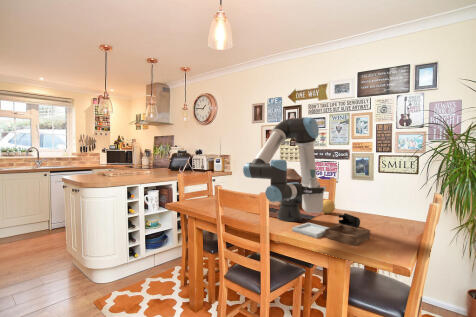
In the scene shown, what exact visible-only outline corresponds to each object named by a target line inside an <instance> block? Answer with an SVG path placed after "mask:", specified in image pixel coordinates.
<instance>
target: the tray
mask: <svg viewBox="0 0 476 317" xmlns="http://www.w3.org/2000/svg"><path fill="white" fill-rule="evenodd" d="M328 228H329V227H328V226H324V225H320V224H316V223H313V222H312V223H311V222H306V223H303V224H299V225H295V226H293V227H291V229H292V232H295V233H298V234H302V235H304V236H307V235H308V236H307V237H310V238H315V239H319V238H320V237H325V229H328Z"/></svg>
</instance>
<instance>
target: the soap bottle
mask: <svg viewBox="0 0 476 317" xmlns="http://www.w3.org/2000/svg"><path fill="white" fill-rule="evenodd" d="M315 171H316V172H318V173H320V171H319V170H314V169H311V170H310V173H311V177H308V179H309V180H310V184H309V186H308V187H309V188H317V186H316V179H317V180H318V177H316V178H315V177H314V176H315ZM323 200H324V194H322V193H320V194H319V193H317V194H302V204H301V208H302V210H304V212H305V213H307V214H308V213H310V214H313V213H315V214H319V213H322V212H323Z"/></svg>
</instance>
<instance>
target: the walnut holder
mask: <svg viewBox="0 0 476 317" xmlns="http://www.w3.org/2000/svg"><path fill="white" fill-rule="evenodd" d="M324 238H327V239H331V240H333V241H338V242H340V243H344V244H347V245H350V246H354V247H356V246H358V245H360V244H362V243H364V242H366V241H368V240H370V239H371V230H367V229H363V228H360V227H357V228H356V227H351V226H347V225H343V224H340V223H338V224H336V225H333V226H331V227H328V229H325V235H324Z"/></svg>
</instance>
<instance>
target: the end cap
mask: <svg viewBox="0 0 476 317" xmlns="http://www.w3.org/2000/svg"><path fill="white" fill-rule="evenodd" d="M338 218H339V219H338V224H343V225H347V226H351V227H356V228H360V225H361V219H360V218H359V217H357V216H355V215H351V214H349V213H346V212H344V213H343V214H339V215H338Z"/></svg>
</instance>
